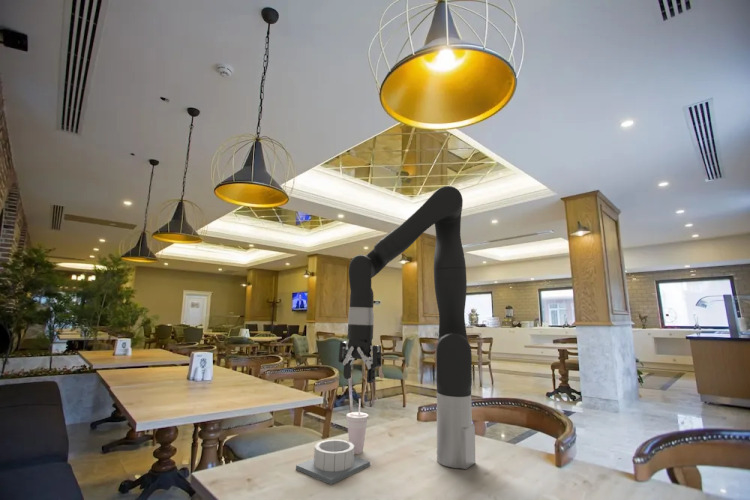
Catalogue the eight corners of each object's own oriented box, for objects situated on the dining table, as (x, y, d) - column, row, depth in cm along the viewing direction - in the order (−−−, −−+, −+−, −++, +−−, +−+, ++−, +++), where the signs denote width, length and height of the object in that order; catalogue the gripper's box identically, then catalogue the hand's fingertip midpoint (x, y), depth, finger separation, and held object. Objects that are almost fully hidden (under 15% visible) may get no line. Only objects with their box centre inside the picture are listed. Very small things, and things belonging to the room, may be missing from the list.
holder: (370, 465, 94) (370, 444, 95) (331, 484, 83) (332, 460, 84) (335, 453, 101) (336, 434, 102) (295, 469, 90) (297, 447, 91)
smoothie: (367, 456, 100) (368, 401, 102) (343, 455, 100) (345, 400, 102) (368, 447, 106) (369, 396, 109) (345, 446, 106) (347, 395, 109)
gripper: (387, 324, 108) (386, 382, 105) (351, 322, 116) (348, 375, 114) (371, 324, 102) (369, 386, 99) (334, 322, 110) (331, 378, 108)
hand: (358, 380), depth 106 cm, fingers open, 8 cm apart
